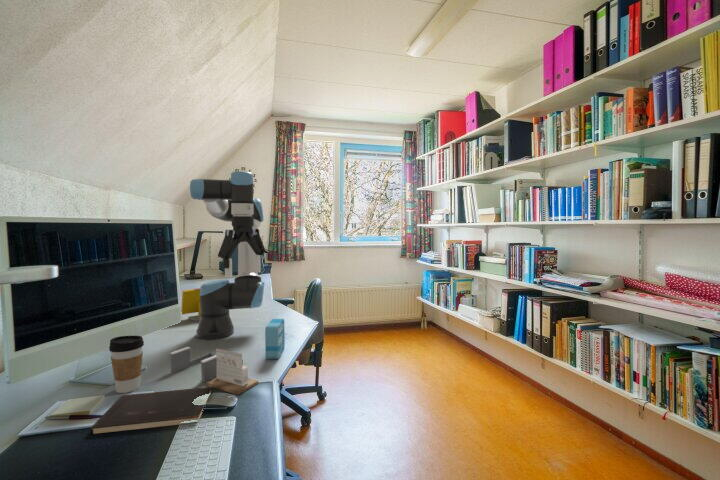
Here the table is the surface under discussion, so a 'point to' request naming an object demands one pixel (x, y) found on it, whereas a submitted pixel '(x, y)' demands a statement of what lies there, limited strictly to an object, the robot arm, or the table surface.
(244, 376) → the ink cartridge box
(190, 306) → the yellow and white box
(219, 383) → the walnut mat
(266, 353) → the data package
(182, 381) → the table surface
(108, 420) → the hardcover book
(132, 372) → the coffee cup
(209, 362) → the grey u-shaped frame
